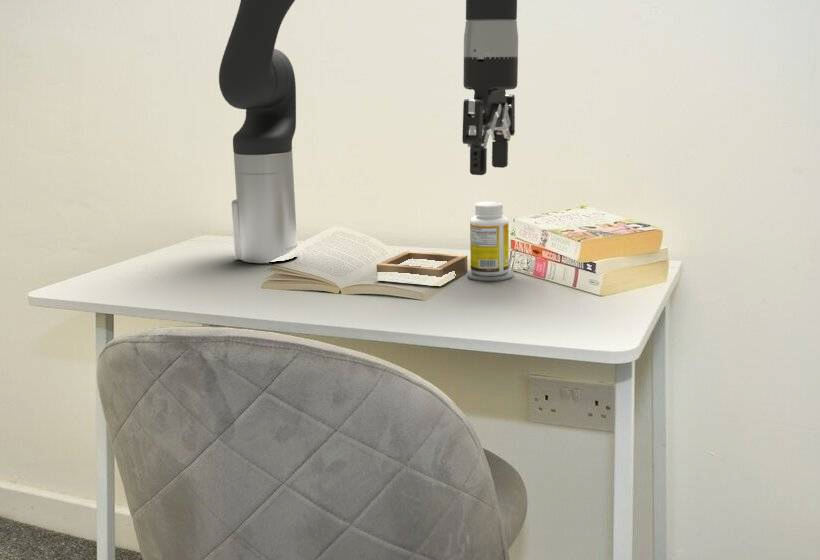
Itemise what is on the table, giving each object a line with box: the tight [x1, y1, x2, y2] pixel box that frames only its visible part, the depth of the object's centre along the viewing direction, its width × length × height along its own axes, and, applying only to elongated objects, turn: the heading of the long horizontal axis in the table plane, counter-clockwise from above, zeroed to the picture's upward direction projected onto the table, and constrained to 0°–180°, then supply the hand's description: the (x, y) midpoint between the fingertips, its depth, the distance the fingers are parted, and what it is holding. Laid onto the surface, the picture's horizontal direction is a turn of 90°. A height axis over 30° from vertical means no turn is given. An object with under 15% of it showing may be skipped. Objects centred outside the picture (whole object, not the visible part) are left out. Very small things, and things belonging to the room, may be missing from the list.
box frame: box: [376, 250, 469, 279], centre depth 140 cm, size 10×10×2 cm
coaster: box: [465, 269, 515, 282], centre depth 140 cm, size 7×7×1 cm
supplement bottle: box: [469, 201, 510, 276], centre depth 139 cm, size 6×6×10 cm
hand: (489, 170), depth 136 cm, fingers open, 8 cm apart
